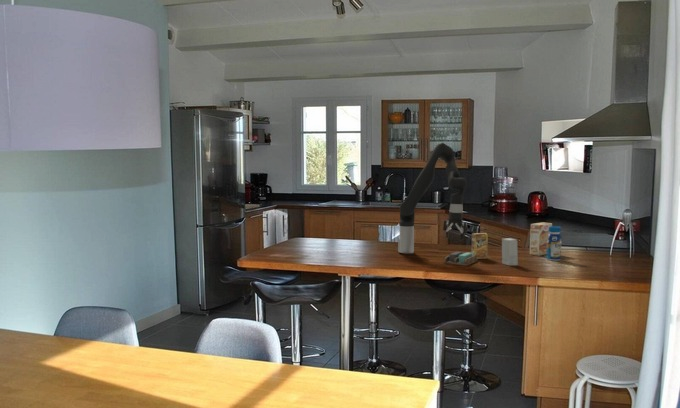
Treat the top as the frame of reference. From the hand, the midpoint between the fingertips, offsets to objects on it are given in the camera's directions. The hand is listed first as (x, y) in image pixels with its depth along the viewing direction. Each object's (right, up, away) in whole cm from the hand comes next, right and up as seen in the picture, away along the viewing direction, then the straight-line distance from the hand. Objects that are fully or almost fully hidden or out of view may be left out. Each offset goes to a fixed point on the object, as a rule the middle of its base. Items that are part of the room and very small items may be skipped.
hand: (454, 238), depth 348 cm
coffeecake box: (+60, -11, +28) cm, 67 cm away
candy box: (+17, -13, +11) cm, 24 cm away
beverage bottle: (+61, -13, +8) cm, 63 cm away
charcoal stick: (0, -12, 0) cm, 12 cm away
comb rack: (+3, -14, -2) cm, 14 cm away
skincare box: (+30, -14, -8) cm, 34 cm away
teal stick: (+6, -13, -3) cm, 14 cm away
